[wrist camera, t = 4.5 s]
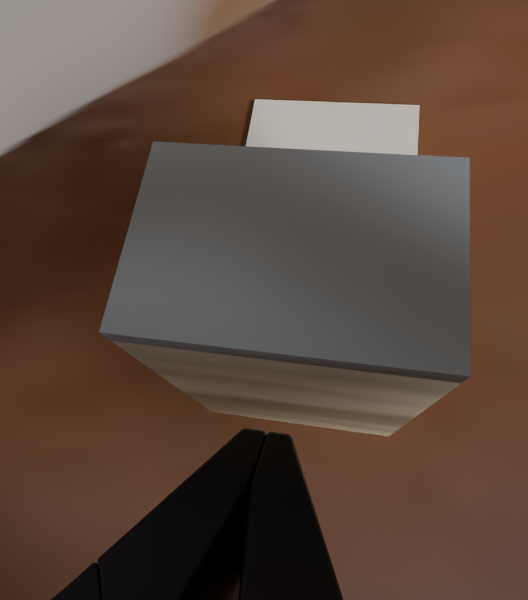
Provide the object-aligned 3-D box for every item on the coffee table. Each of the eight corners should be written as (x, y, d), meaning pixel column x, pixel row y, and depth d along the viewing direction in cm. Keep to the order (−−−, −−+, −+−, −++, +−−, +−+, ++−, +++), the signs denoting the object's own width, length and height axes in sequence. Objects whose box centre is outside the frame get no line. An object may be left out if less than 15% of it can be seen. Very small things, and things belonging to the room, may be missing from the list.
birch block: (388, 436, 15) (471, 376, 7) (210, 411, 16) (99, 332, 8) (394, 320, 17) (469, 158, 9) (230, 303, 18) (152, 141, 9)
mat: (409, 308, 17) (411, 305, 17) (219, 289, 18) (217, 286, 18) (418, 110, 20) (419, 105, 20) (255, 104, 21) (254, 99, 21)
